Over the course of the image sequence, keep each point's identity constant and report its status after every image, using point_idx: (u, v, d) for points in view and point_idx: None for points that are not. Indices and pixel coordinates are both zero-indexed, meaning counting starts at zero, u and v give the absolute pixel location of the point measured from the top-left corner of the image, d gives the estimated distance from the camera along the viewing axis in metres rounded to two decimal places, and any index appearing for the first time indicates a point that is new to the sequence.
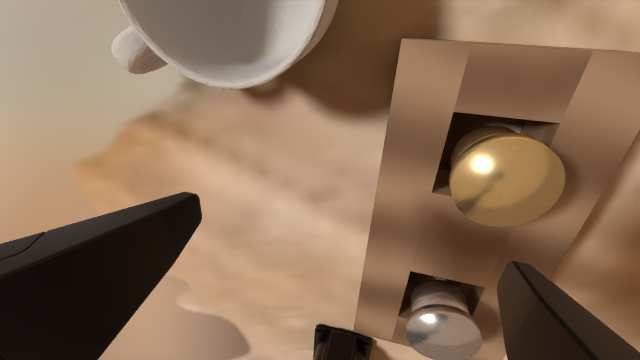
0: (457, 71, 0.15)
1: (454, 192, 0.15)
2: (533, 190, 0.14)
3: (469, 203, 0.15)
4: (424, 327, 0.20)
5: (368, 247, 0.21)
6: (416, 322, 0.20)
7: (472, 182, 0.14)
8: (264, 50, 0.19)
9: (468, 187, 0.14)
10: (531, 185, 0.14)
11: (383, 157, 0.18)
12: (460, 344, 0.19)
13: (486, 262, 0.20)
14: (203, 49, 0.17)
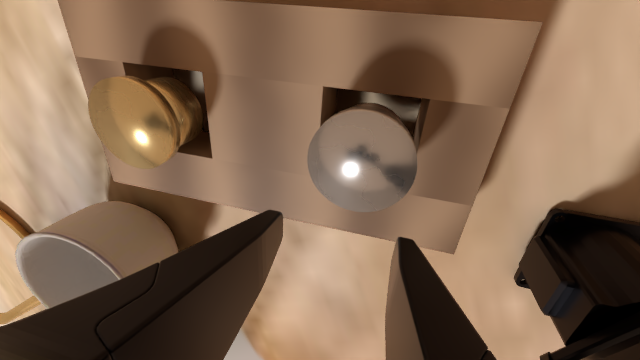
0: None
1: (150, 166, 0.16)
2: (122, 102, 0.14)
3: (155, 153, 0.15)
4: (341, 189, 0.13)
5: (292, 218, 0.19)
6: (334, 198, 0.14)
7: (136, 152, 0.16)
8: None
9: (141, 155, 0.16)
10: (119, 105, 0.14)
11: (192, 197, 0.20)
12: (365, 141, 0.12)
13: (281, 92, 0.15)
14: None
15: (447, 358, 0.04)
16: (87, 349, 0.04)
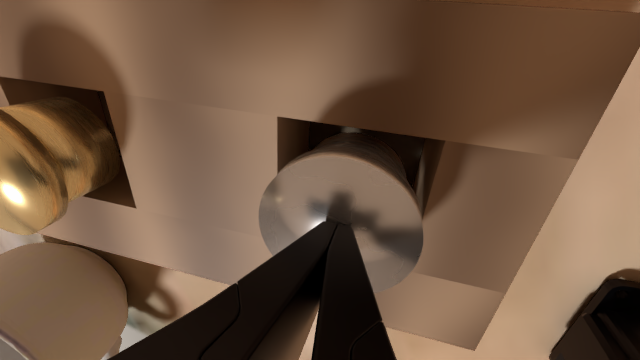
0: None
1: (26, 231, 0.11)
2: None
3: (27, 215, 0.10)
4: None
5: None
6: None
7: (3, 212, 0.10)
8: None
9: (11, 216, 0.10)
10: None
11: (120, 254, 0.15)
12: (342, 201, 0.08)
13: (217, 124, 0.10)
14: None
15: (338, 327, 0.05)
16: None
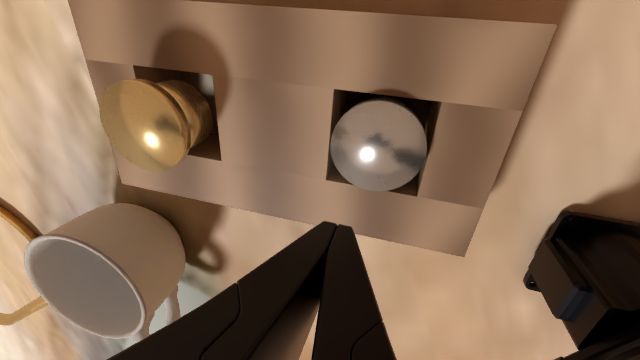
0: None
1: (160, 168, 0.16)
2: (134, 105, 0.14)
3: (165, 155, 0.15)
4: (359, 171, 0.15)
5: (301, 220, 0.19)
6: (353, 179, 0.16)
7: (147, 155, 0.16)
8: None
9: (151, 158, 0.16)
10: (131, 108, 0.14)
11: (201, 199, 0.20)
12: (382, 127, 0.14)
13: (292, 95, 0.15)
14: None
15: (337, 327, 0.05)
16: None
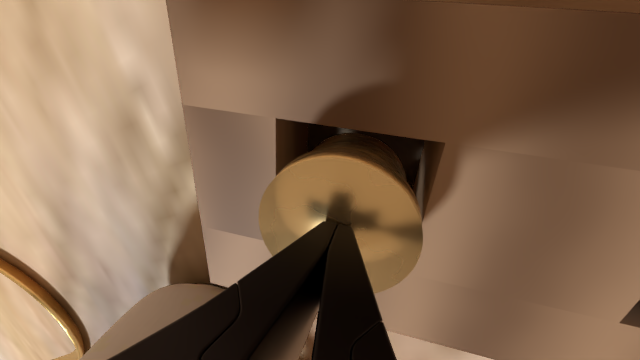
0: (230, 239, 0.12)
1: None
2: (339, 199, 0.08)
3: (372, 277, 0.09)
4: None
5: None
6: None
7: None
8: None
9: None
10: (330, 202, 0.08)
11: None
12: None
13: (620, 189, 0.08)
14: None
15: (338, 327, 0.05)
16: None
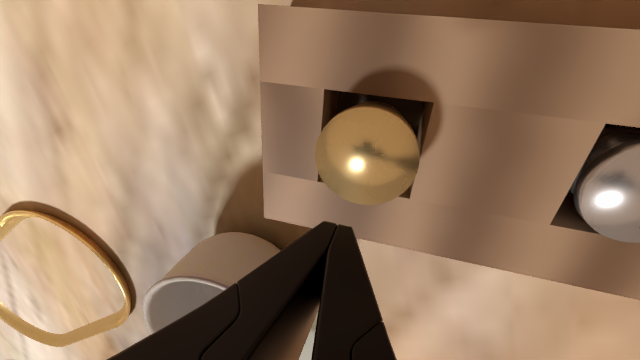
0: (283, 180, 0.17)
1: (374, 202, 0.14)
2: (368, 134, 0.13)
3: (387, 188, 0.14)
4: (616, 219, 0.13)
5: (495, 267, 0.16)
6: (602, 228, 0.13)
7: (361, 187, 0.14)
8: None
9: (367, 190, 0.14)
10: (363, 137, 0.13)
11: (365, 238, 0.18)
12: None
13: (540, 129, 0.13)
14: None
15: (337, 327, 0.05)
16: None
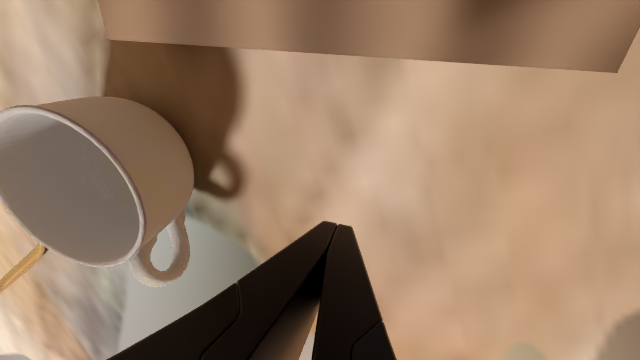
0: None
1: None
2: None
3: None
4: None
5: (362, 53, 0.13)
6: None
7: None
8: None
9: None
10: None
11: (217, 44, 0.15)
12: None
13: None
14: None
15: (337, 327, 0.05)
16: None
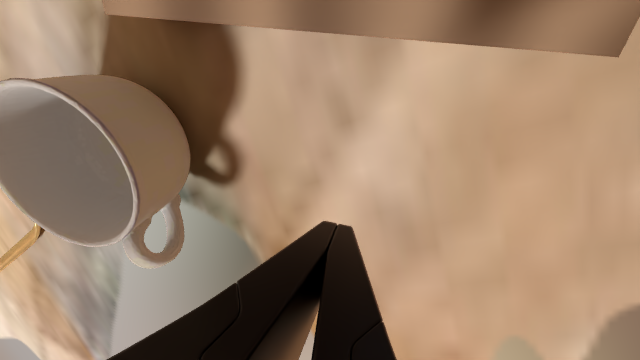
0: None
1: None
2: None
3: None
4: None
5: (361, 33, 0.13)
6: None
7: None
8: None
9: None
10: None
11: (215, 21, 0.14)
12: None
13: None
14: None
15: (338, 327, 0.05)
16: None
